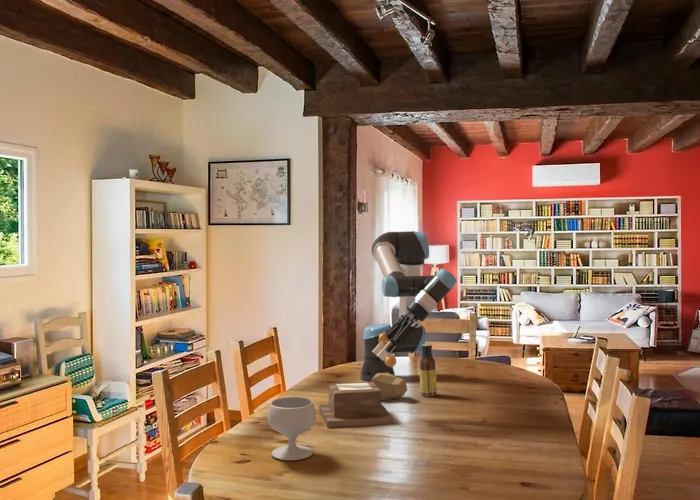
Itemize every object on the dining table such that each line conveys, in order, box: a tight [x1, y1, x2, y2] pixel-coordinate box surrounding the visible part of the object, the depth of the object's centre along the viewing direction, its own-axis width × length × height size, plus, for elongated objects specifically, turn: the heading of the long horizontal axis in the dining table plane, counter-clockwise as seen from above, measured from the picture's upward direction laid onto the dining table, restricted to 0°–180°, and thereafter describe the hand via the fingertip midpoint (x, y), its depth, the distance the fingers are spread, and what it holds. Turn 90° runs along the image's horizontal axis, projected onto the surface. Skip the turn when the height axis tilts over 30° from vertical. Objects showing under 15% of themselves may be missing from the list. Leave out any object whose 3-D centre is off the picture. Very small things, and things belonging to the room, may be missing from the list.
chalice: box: [266, 396, 317, 461], centre depth 177 cm, size 14×14×15 cm
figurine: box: [378, 332, 397, 368], centre depth 213 cm, size 8×6×12 cm
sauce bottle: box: [419, 343, 438, 398], centre depth 240 cm, size 6×6×20 cm
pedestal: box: [318, 381, 394, 429], centre depth 214 cm, size 22×22×10 cm
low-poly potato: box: [371, 373, 408, 401], centre depth 236 cm, size 15×11×12 cm
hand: (377, 356), depth 213 cm, fingers closed on figurine, 6 cm apart
